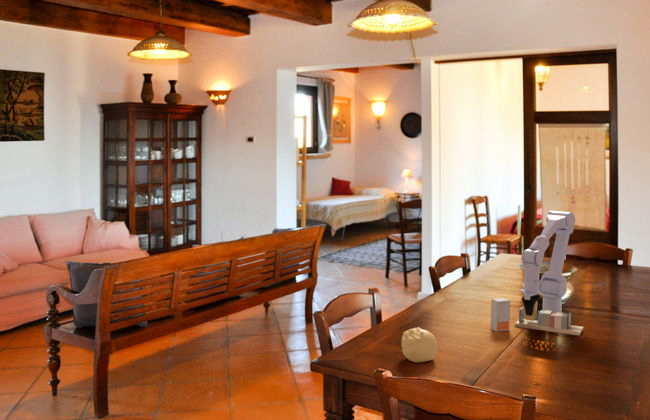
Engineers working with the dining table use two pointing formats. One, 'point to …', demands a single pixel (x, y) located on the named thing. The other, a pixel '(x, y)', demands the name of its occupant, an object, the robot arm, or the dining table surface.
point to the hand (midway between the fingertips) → (530, 313)
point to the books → (552, 319)
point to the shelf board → (533, 325)
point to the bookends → (521, 317)
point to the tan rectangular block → (532, 314)
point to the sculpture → (419, 345)
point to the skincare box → (500, 314)
